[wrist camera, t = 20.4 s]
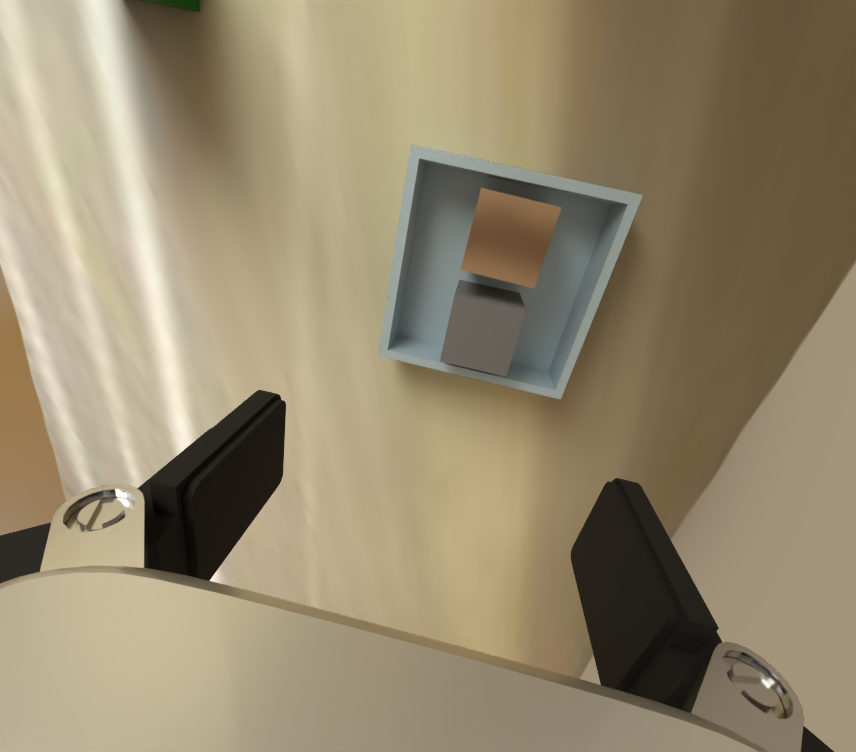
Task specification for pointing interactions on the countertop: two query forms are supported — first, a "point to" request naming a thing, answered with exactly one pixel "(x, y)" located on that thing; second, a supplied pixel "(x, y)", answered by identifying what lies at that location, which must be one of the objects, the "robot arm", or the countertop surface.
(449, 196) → the bin
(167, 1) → the soya milk
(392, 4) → the countertop surface
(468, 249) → the walnut block
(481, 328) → the charcoal block
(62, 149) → the countertop surface
